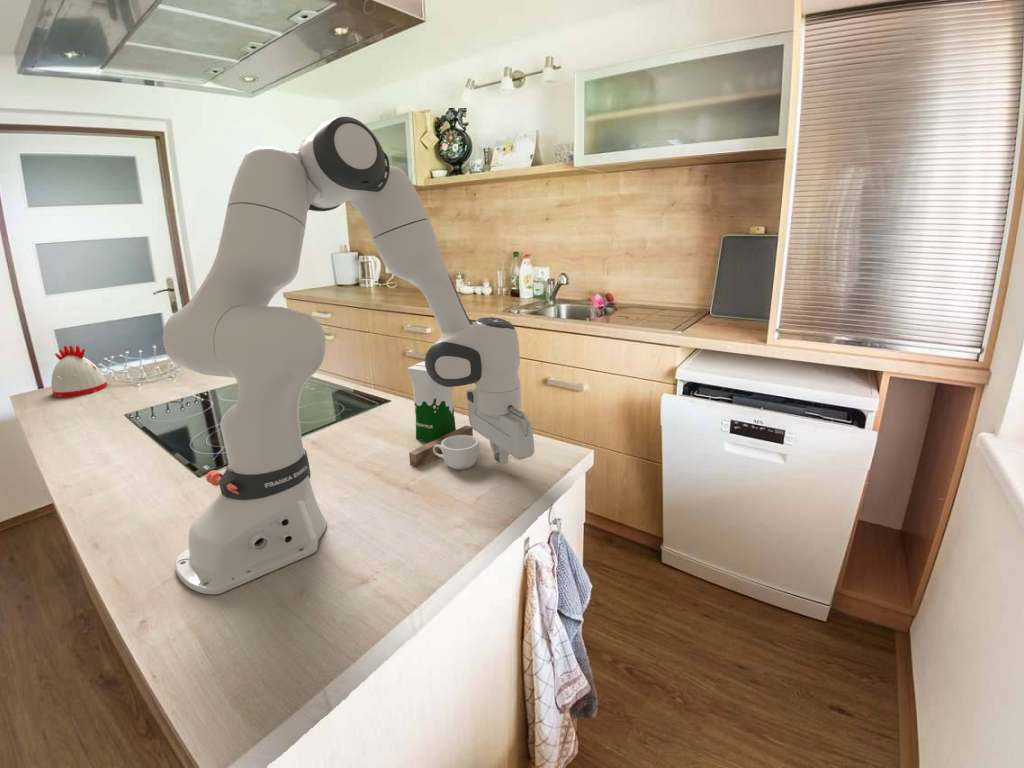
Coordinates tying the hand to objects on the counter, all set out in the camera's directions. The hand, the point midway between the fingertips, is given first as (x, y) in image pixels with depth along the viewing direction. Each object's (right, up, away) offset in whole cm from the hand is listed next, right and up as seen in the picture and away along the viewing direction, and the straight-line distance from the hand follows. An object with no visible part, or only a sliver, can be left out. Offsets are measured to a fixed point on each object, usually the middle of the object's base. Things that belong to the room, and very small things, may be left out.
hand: (501, 462), depth 107 cm
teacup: (-10, -1, +4) cm, 11 cm away
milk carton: (-16, +3, +19) cm, 25 cm away
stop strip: (-13, +1, +10) cm, 17 cm away
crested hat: (-139, +14, +62) cm, 153 cm away
